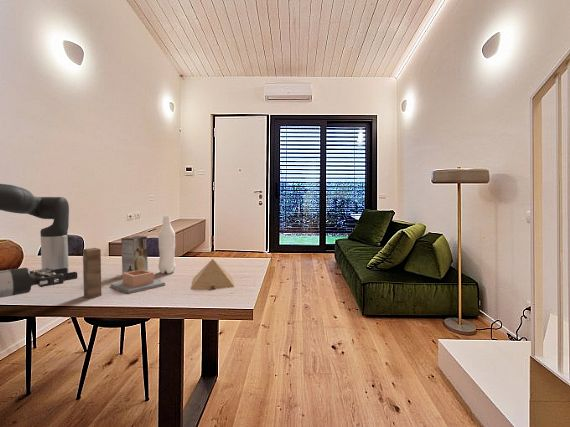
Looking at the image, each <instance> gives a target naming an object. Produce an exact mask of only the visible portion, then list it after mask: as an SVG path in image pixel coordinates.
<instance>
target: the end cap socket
mask: <svg viewBox="0 0 570 427" xmlns="http://www.w3.org/2000/svg"><path fill="white" fill-rule="evenodd" d="M154 274H155V273H154V272H153V271H149V270H148V271H147V270H143V269H142V270H137V271H131V272H125V273H122V277H121V278H122V281H118V282H113V283H110V287H111V288H113V289H117V290H119V291H122V292H124V293H126V294H133V293H137V292H142V291H145V290H150V289H156V288H158V287H163V286H166V282H164V281H161V280H158V279H155V278H154V277H155V275H154Z"/></svg>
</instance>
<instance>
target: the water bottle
mask: <svg viewBox="0 0 570 427" xmlns="http://www.w3.org/2000/svg"><path fill="white" fill-rule="evenodd" d="M171 223H172V221H171V216H169V215H168V216H167V215H166V216H163V217H162V225H161V227H160V229H159V231H158V233H157V236H158V252H159V260H158V270H159V272H160V274H162V275H163V274H165V273H167V274H172V273H174V272H175V271H176V268H177V267H176V259H175V253H176V252H175V251H176V250H175V249H176V232H175V230H174V228H173V226H172V224H171Z"/></svg>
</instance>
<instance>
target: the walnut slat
mask: <svg viewBox="0 0 570 427" xmlns="http://www.w3.org/2000/svg"><path fill="white" fill-rule="evenodd" d="M101 256H102V255H101V248H97V247H92V248H83V249H82V264H83V265H82V266H83V267H82V268H83V270H82V271H83V272H82V274H83V297H85V298H87V299H91V298H97V297H101V296H102V257H101Z"/></svg>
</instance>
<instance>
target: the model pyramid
mask: <svg viewBox="0 0 570 427" xmlns="http://www.w3.org/2000/svg"><path fill="white" fill-rule="evenodd" d="M190 285H191V286H190V290H205V289H206V290H207V289H208V288H209V289H208V290H212V289H215V290H216V289H224V288H225V289H226V287H227V288H235V287H234V286H235V283H234V279H233V276H232V275H231V274H230V273H229V272H227V270H225V269H224V268H223V267H222V266H221V265H220V264H219V263H218V262H217V261H216V260H214V258H212V259H210V261H208V263H207V264H206V265H204V267H203V268H202V269H201V270H200V271H199V272H198V273H197V274H196V275H195V276H194V277H193V278H192V281H191V284H190Z"/></svg>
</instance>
